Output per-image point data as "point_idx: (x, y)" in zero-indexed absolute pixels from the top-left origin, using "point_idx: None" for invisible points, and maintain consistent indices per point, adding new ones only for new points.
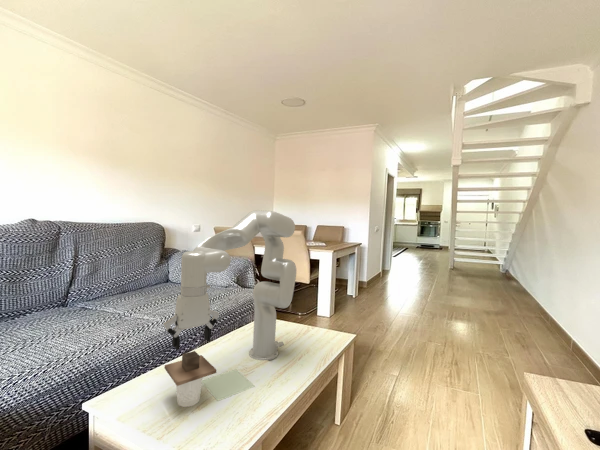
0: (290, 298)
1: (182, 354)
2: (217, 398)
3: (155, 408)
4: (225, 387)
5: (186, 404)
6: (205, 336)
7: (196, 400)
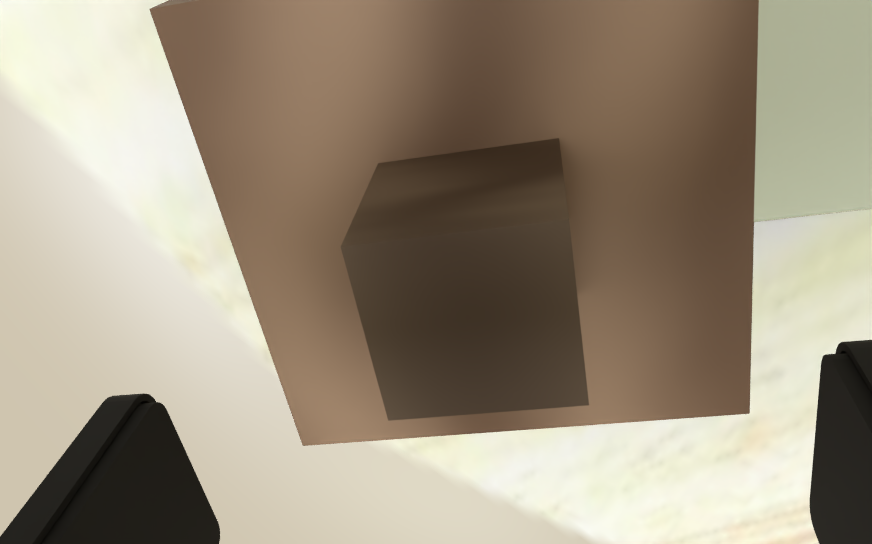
0: None
1: (343, 254)
2: None
3: None
4: (868, 63)
5: None
6: (843, 471)
7: None
